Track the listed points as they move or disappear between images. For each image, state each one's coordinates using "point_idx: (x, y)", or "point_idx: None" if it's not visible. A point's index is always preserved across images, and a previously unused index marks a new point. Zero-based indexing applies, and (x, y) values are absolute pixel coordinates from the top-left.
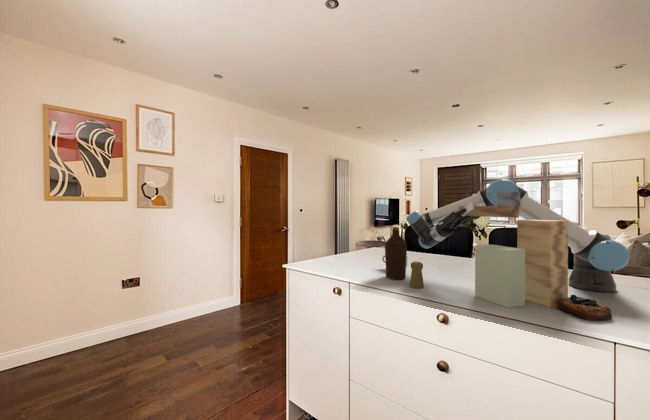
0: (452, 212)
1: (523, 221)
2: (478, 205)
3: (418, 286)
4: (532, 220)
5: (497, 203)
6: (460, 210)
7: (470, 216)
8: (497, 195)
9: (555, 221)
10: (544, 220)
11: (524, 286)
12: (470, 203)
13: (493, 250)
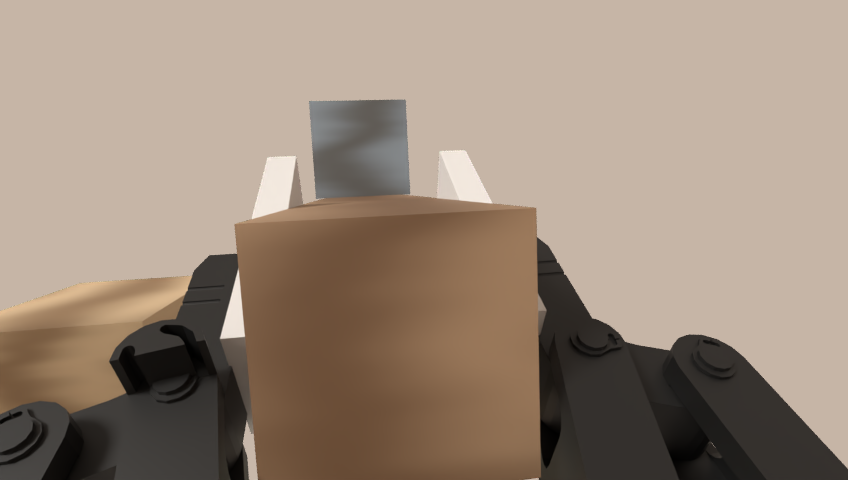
0: (742, 358)
1: (163, 317)
2: (296, 194)
3: None
4: (173, 295)
5: (408, 176)
6: (568, 283)
7: (243, 474)
8: (405, 121)
9: (179, 277)
10: (105, 295)
11: None
12: (466, 159)
13: None
